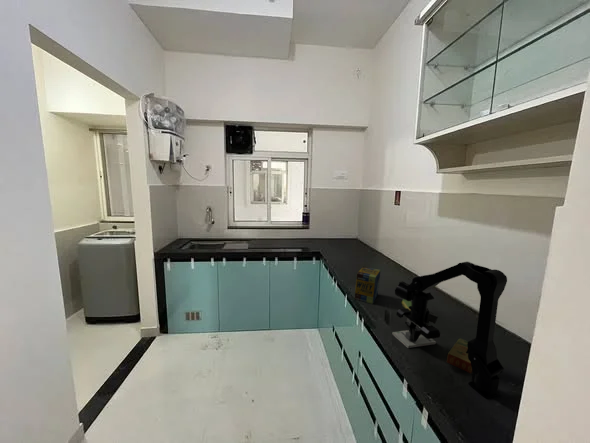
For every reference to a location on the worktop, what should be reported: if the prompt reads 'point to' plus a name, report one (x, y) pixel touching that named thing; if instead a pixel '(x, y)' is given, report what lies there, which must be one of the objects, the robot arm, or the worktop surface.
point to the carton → (460, 356)
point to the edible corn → (406, 303)
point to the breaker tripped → (408, 336)
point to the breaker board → (409, 344)
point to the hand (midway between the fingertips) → (414, 341)
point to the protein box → (367, 284)
